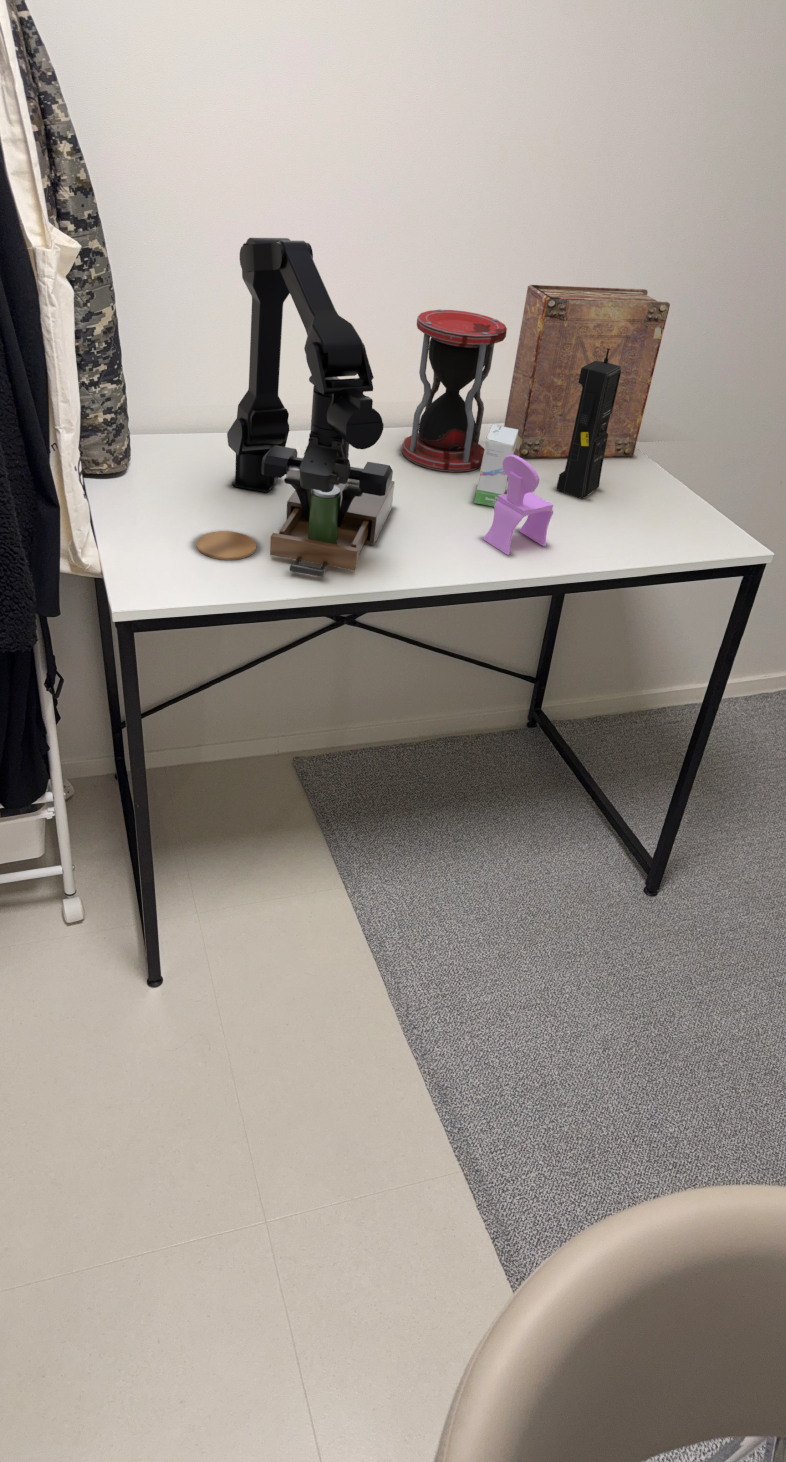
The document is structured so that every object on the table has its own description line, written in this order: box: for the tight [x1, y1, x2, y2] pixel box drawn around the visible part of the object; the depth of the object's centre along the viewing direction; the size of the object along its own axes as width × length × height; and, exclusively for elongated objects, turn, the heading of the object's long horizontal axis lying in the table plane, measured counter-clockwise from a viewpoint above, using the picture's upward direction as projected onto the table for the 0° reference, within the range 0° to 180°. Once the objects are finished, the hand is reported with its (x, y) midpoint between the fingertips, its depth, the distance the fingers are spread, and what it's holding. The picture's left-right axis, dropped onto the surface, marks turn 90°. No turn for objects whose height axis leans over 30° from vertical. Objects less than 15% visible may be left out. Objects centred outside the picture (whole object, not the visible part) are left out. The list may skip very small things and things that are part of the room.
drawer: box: [269, 507, 372, 578], centre depth 160 cm, size 18×13×3 cm
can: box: [308, 486, 341, 544], centre depth 158 cm, size 5×5×8 cm
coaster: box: [196, 530, 257, 561], centre depth 160 cm, size 9×9×1 cm
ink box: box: [473, 424, 519, 508], centre depth 183 cm, size 9×5×12 cm, turn 168°
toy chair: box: [483, 454, 554, 556], centre depth 168 cm, size 8×9×15 cm
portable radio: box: [556, 348, 621, 500], centre depth 186 cm, size 8×6×25 cm
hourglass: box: [401, 309, 508, 473], centre depth 193 cm, size 16×16×25 cm
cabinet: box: [285, 480, 395, 546], centre depth 171 cm, size 15×14×5 cm
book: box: [503, 284, 671, 459], centre depth 202 cm, size 25×9×30 cm, turn 107°
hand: (323, 523), depth 159 cm, fingers closed on can, 4 cm apart
